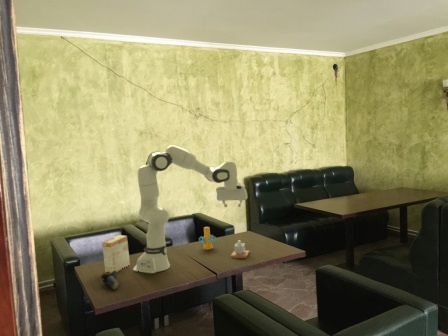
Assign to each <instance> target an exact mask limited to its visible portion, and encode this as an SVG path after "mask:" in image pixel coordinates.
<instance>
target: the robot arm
mask: <svg viewBox="0 0 448 336" xmlns="http://www.w3.org/2000/svg"><path fill="white" fill-rule="evenodd" d="M172 164H173V165H176V166H177V167H180V168H183V169H185V170H193V171H195V172H197V173H199V174H201V175H202V176H204V177H205V179H206V180H207V181H209V182H212V183H215V184H220V183H223V184H224V185H223V186H217V187H216V189H215V192H216V200H217V201H218V202H219V201H221V202H222V204H223V205H224V208H227V207H228V204H227V203H226V201H239V203H238V205H237V207H238V208H241V207H242V203H243V201H246V200H247V199H248V192H247V189H246V185H245V184H244V183H241V182H239V181H238V180H239V179H238V169H237V165H236V163H235V162H233V161H224V162H223V163H221V164H220V165H219V166H217V167H216V166H208V165H206V164H204V163H202V162H200V161H199V160H198V159H197V157H196V155H195V154H194V153H192V152H191V151H189V150H187V149H185V148H182V147H180V146H178V145H174V144H173V145H172V144H171V145H169V146H167V148H166V149H165V151H164V152H161V151H152V152H150V154H149V155H148V156H147V160H146V162H145V165H142V166H140V167H139V168H138V170H137V179H138V180H137V182H138V188H139V193H140V208H139V209H138V210H139V212H138V215H139V217H140V219H141V220H142V221H144V222H145V223H146V222H147V223H148V229H147V232H146V235H145V236H146V246H145V247H144V248H143V251H144V252H143V253H142V254H141V255H140V256H138V259H137V261H136V265H135V266H134V267H133V272H138V271H139V273H145V274H155V273H159V272H162V271H167V270H168V269H169V268H170V267H171V264H170V262H169V259H168V253H167V252H168V251H167V249H168V248H167V244H166V235H165V229H166V225H167V223H168V221H169V218H170V214H169V211H168V210H166V209H165V208H164V207H162V206H158V199H159V196H160V190H159V189H160V188H159V184H158V183H159V182H158V177H157V174H158V172H163V171H166V170H167V169H168V167H170V166H171V165H172Z"/></svg>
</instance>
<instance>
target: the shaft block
mask: <svg viewBox="0 0 448 336" xmlns="http://www.w3.org/2000/svg"><path fill="white" fill-rule="evenodd" d="M237 243H238V245H241V243H242V241H241V240H237ZM249 254H250V250H246V249H245V251H244V253H235V249H234V251H233V252H232V253H231V255H230V257H231V258H232V259H233V258H234V259H235V258H236V259H247V258H248V256H249Z"/></svg>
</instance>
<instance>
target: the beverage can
mask: <svg viewBox="0 0 448 336" xmlns="http://www.w3.org/2000/svg"><path fill="white" fill-rule="evenodd" d="M117 275H118V271H117V272H116V271H113V272H111V273H106V272H105V273H102V275H100V278H101V279H102V283H103V285H105V284H106V283H108V284H106V285H109V287H110V288H111V289H112V290H116V289H117V290H118V288H119V287H120V283H119V281H118V280H117V278H118V276H117Z"/></svg>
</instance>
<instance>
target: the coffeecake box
mask: <svg viewBox="0 0 448 336" xmlns="http://www.w3.org/2000/svg"><path fill="white" fill-rule="evenodd" d="M101 245H102V252H103V253H102V254H103V260H104V269H105V270H104V271H105V273H106V272H110V273H111V272H113V271H116V272H117V273H118V272H120V271H122V270H123V269H125V268H127V267H129V266H131V264H130V263H131V262H130V261H131V260H130V253H129V243H128V235H122V234H119V235H116V236H112V237H111V238H108V239H106V240H104V241H102V242H101ZM128 265H129V266H128ZM126 266H127V267H126ZM124 267H125V268H124ZM122 268H123V269H122Z"/></svg>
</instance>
